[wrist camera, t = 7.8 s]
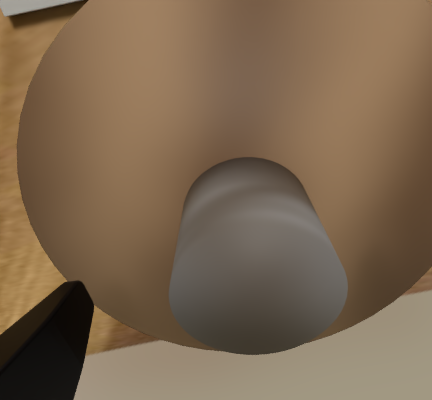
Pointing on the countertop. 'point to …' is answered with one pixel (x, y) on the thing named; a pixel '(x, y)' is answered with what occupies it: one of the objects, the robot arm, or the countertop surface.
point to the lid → (234, 164)
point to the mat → (29, 5)
